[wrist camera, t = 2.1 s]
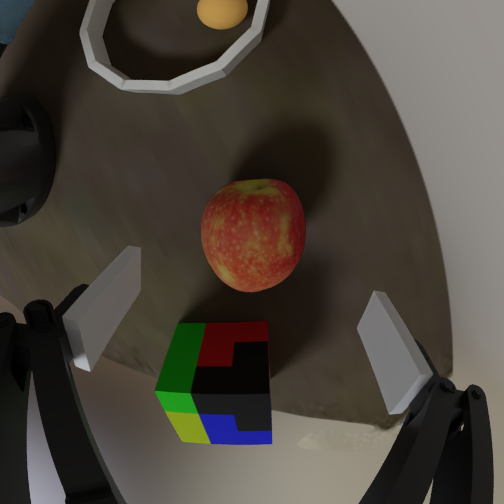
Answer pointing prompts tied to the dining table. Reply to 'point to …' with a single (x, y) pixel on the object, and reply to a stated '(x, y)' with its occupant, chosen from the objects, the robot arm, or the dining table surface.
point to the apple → (253, 233)
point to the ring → (179, 85)
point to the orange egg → (222, 12)
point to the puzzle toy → (218, 383)
